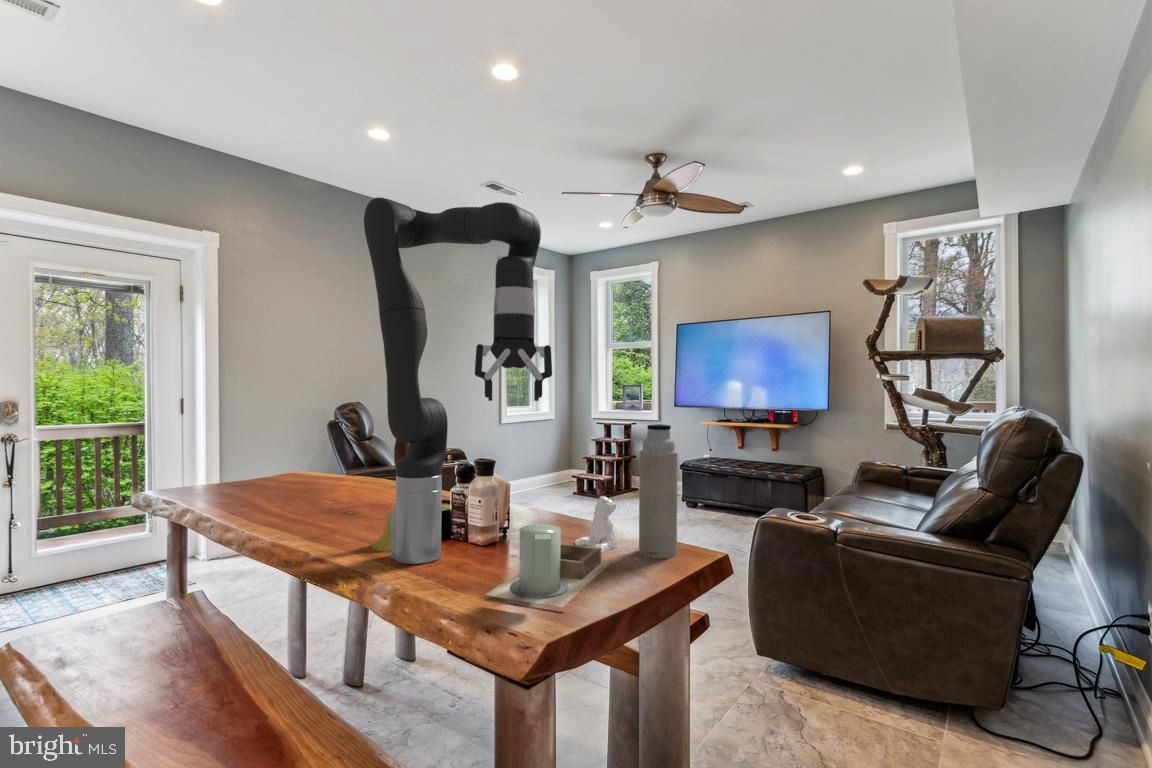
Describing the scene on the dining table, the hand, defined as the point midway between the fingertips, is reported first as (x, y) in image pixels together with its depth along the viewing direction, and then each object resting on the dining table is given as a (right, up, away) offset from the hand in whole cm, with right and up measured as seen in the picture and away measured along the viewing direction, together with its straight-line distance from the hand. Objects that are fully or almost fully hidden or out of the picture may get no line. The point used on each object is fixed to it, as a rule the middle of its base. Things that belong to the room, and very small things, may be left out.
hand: (513, 400), depth 105 cm
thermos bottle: (+29, -34, +14) cm, 47 cm away
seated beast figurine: (+17, -34, +19) cm, 42 cm away
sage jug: (+6, -32, -10) cm, 34 cm away
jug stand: (+7, -33, -3) cm, 34 cm away
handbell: (-28, -33, +22) cm, 49 cm away
